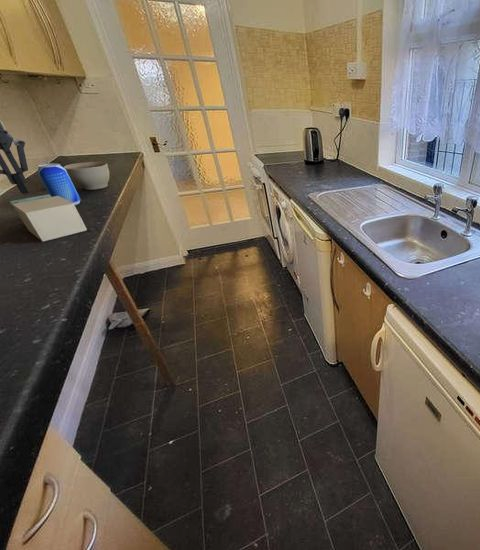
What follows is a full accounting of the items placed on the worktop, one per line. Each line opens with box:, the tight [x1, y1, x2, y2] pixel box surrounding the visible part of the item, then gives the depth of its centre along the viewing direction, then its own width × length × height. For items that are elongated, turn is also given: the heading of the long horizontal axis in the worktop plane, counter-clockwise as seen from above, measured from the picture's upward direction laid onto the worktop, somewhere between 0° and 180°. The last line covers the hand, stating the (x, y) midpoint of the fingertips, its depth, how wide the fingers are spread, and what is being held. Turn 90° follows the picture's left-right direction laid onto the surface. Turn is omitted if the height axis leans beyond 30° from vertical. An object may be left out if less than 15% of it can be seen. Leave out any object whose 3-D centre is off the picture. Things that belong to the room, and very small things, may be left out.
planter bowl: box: [63, 161, 110, 191], centre depth 145 cm, size 16×16×11 cm
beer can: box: [36, 163, 81, 206], centre depth 121 cm, size 8×8×16 cm
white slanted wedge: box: [11, 196, 88, 242], centre depth 99 cm, size 15×12×10 cm
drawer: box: [8, 193, 51, 224], centre depth 105 cm, size 18×10×8 cm, turn 56°
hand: (25, 192), depth 105 cm, fingers closed
